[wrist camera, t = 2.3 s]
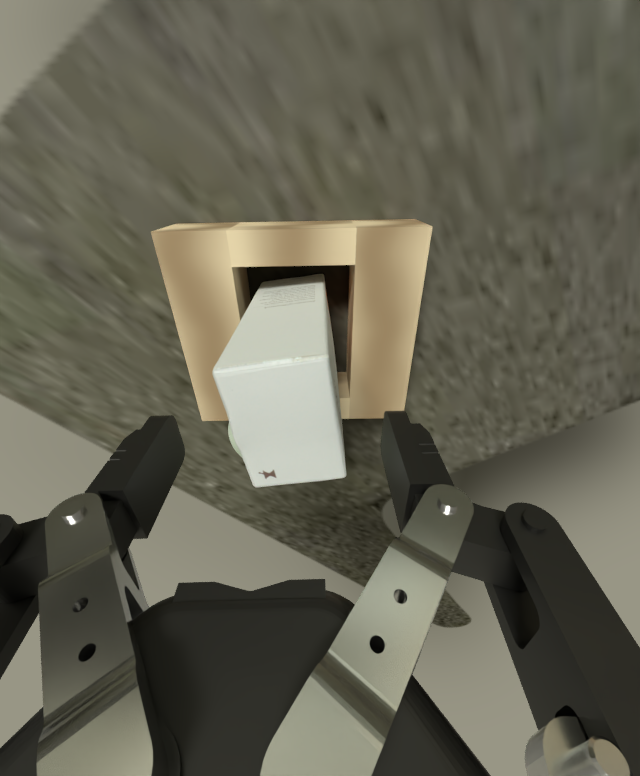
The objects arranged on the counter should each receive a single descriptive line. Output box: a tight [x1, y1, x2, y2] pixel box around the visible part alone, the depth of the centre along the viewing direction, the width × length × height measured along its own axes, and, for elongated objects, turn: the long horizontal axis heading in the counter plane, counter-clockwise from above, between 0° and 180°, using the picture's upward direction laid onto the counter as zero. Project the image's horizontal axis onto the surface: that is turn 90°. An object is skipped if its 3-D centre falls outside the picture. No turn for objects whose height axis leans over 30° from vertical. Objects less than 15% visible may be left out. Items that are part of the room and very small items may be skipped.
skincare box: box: [212, 274, 346, 487], centre depth 17 cm, size 6×4×12 cm
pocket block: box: [151, 219, 432, 421], centre depth 21 cm, size 14×12×4 cm
